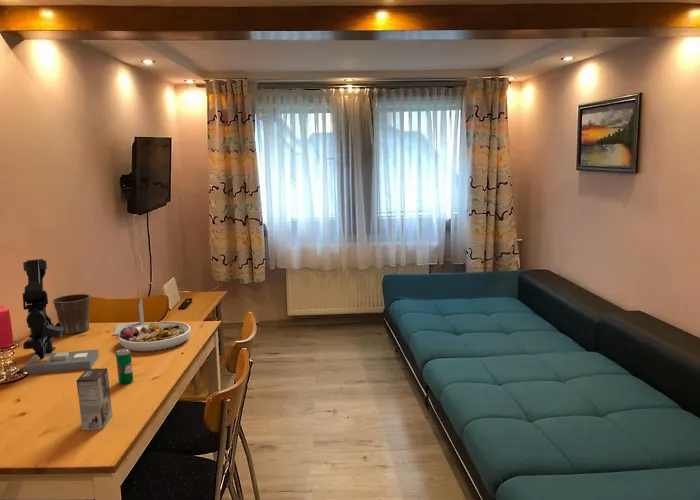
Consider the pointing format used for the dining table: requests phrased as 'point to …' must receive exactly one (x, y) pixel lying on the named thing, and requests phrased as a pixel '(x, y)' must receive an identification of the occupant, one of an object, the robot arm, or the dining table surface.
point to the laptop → (126, 325)
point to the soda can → (124, 366)
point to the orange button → (42, 359)
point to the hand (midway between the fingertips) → (42, 358)
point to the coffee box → (94, 399)
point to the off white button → (80, 355)
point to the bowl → (154, 336)
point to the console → (61, 363)
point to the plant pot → (73, 312)
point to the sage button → (61, 356)
